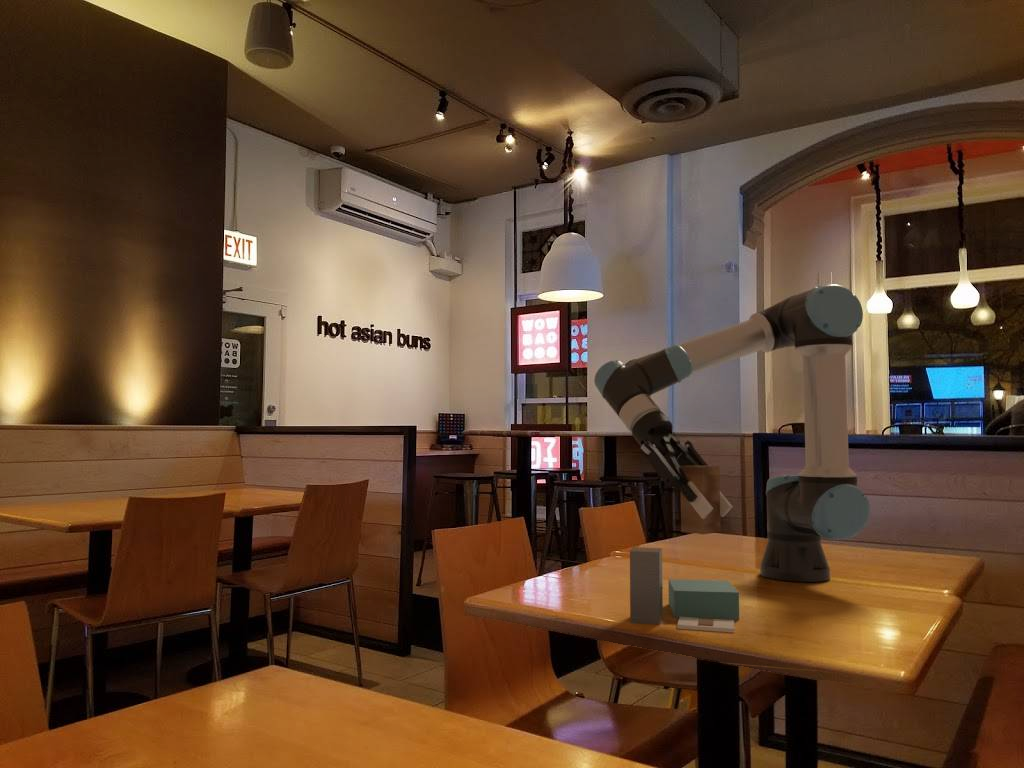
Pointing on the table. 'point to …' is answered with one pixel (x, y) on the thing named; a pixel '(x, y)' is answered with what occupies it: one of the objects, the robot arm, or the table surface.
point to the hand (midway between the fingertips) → (717, 512)
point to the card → (706, 624)
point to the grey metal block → (646, 585)
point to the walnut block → (710, 489)
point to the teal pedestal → (703, 599)
